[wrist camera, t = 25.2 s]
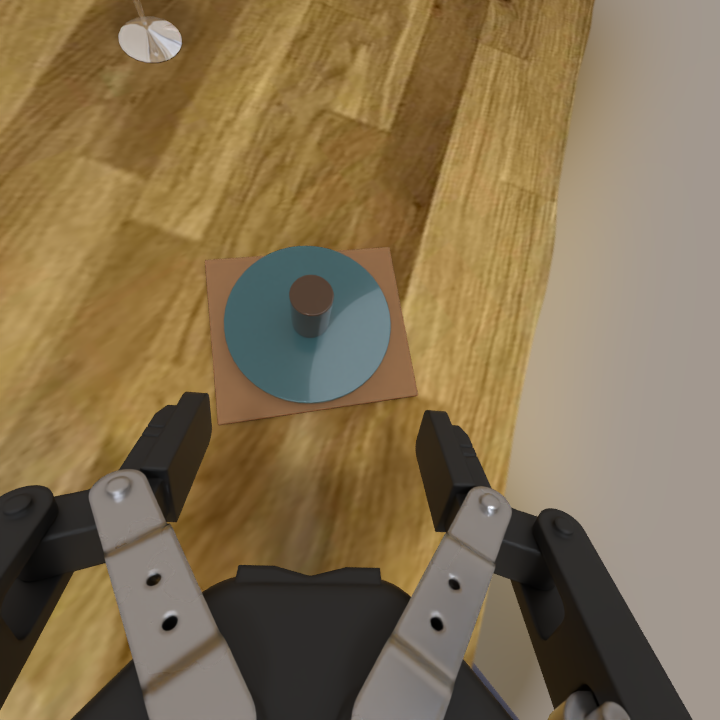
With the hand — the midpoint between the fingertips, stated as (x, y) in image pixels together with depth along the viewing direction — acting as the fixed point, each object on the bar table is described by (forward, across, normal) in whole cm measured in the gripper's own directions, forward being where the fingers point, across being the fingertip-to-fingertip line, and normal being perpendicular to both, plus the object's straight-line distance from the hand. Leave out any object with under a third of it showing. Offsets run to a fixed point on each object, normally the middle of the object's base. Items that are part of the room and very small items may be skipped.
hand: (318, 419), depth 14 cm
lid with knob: (+13, +1, +2) cm, 14 cm away
